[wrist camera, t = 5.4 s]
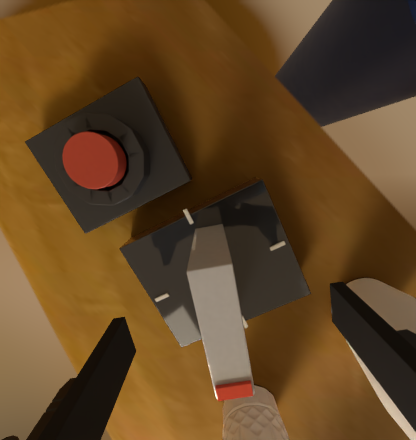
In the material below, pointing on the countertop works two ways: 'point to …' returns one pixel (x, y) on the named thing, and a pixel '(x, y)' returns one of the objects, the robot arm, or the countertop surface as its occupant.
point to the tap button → (132, 146)
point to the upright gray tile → (219, 313)
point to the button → (94, 160)
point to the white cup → (253, 418)
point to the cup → (398, 319)
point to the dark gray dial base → (239, 250)
